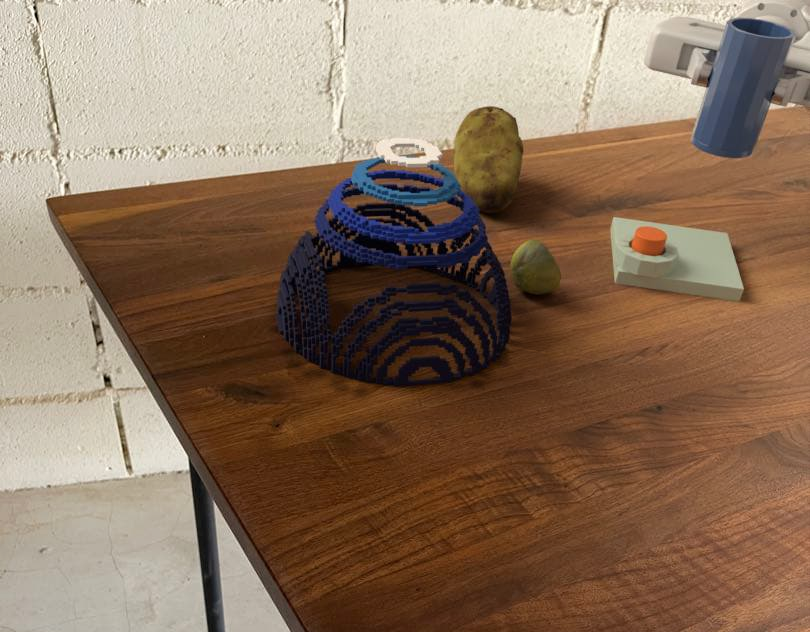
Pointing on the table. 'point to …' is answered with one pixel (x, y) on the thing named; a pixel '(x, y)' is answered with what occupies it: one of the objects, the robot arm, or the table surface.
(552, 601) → the table surface
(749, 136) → the cup
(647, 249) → the tare button
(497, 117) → the potato
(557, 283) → the green mango
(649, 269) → the scale
